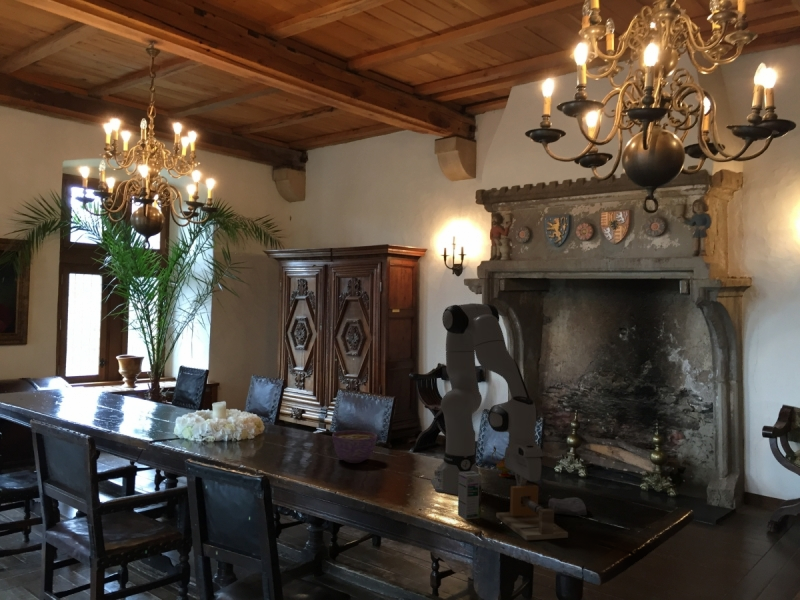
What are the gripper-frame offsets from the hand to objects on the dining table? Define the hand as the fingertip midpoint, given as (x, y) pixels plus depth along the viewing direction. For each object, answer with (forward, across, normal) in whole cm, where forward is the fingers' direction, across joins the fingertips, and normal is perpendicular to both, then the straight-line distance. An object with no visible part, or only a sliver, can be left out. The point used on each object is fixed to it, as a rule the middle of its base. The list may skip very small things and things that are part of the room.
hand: (520, 488), depth 218 cm
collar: (+8, +3, 0) cm, 8 cm away
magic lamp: (+10, -52, +20) cm, 56 cm away
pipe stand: (+10, +8, 0) cm, 13 cm away
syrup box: (+10, -5, -16) cm, 20 cm away
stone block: (+11, -5, +20) cm, 24 cm away
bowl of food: (+10, -86, -38) cm, 95 cm away
